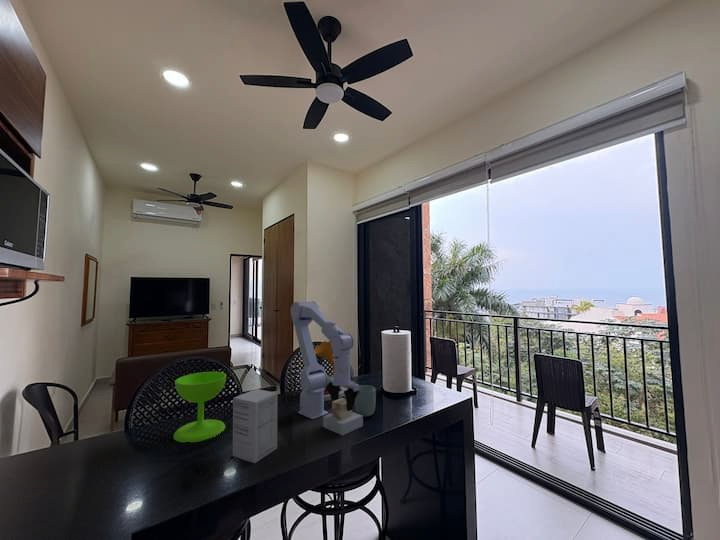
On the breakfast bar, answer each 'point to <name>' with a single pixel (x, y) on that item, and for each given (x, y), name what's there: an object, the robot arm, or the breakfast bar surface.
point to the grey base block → (343, 423)
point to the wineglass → (200, 404)
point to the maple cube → (340, 409)
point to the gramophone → (327, 352)
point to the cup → (365, 400)
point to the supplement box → (254, 425)
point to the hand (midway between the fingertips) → (342, 407)
